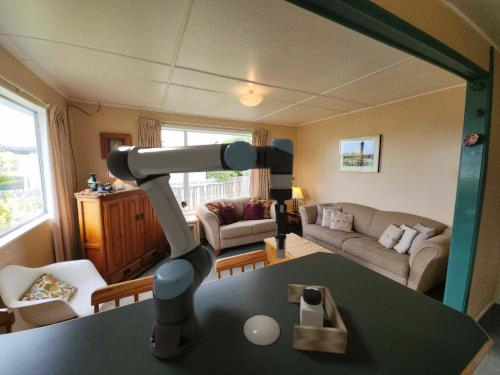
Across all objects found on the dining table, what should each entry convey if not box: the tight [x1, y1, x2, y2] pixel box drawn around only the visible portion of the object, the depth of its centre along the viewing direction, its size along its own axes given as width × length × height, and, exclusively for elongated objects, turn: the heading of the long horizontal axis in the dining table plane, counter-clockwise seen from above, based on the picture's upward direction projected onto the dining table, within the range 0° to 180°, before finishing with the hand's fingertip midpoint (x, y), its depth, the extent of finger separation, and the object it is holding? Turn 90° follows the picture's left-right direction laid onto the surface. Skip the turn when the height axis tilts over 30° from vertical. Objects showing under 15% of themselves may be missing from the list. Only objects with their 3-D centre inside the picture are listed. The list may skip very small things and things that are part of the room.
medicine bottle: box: [299, 287, 325, 327], centre depth 71 cm, size 7×7×12 cm
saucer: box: [243, 314, 281, 346], centre depth 69 cm, size 12×12×1 cm
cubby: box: [287, 283, 348, 355], centre depth 71 cm, size 15×22×7 cm
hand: (279, 249), depth 70 cm, fingers open, 13 cm apart
